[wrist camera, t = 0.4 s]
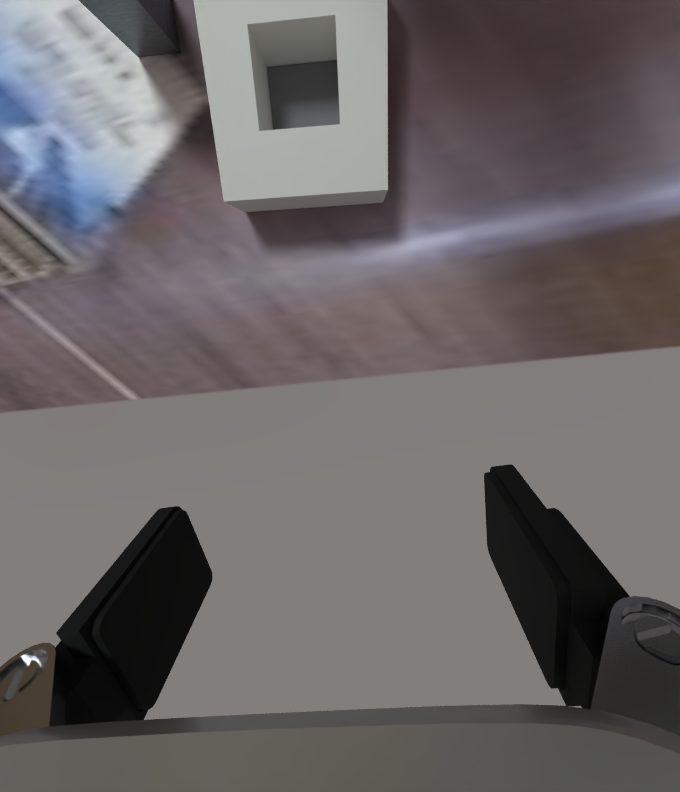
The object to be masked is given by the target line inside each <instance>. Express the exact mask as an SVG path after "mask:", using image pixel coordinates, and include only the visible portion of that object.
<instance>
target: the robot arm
mask: <svg viewBox="0 0 680 792" xmlns="http://www.w3.org/2000/svg"><path fill="white" fill-rule="evenodd" d="M484 483H485V504H486V528H487V545H488V551H489V554H490V557H491V559H492V561H493V563H494V566H495V568H496V570H497V573H498V575H499V577H500V579H501V581H502V583H503V586H504V587H505V590H506V593H507V595H508V597H509V599H510V601H511V603H512V606H513V608H514V610H515V613H516V615H517V617H518V619H519V621H520V624H521V626H522V628H523V630H524V633H525V635H526V637H527V639H528V641H529V644H530V646H531V648H532V650H533V652H534V655H535V657H536V659H537V661H538V663H539V666H540V668H541V670H542V672H543V675H544V677H545V679H546V681H547V683H548V685H549V686H550V687H551V688H558V689H559V691H560V693H561V695H562V698H563V700H564V702H565V704H566V706H554V705H524V704H515V705H467V706H432V707H406V708H383V709H358V710H334V711H312V712H292V713H270V714H249V715H230V716H209V717H191V718H171V719H155V720H144V718H145V716H146V713H147V711H148V709H150V708H152V707H153V705H154V704H155V703H156V701H157V699H158V697H159V694H160V692H161V690H162V688H163V686H164V684H165V681H166V679H167V677H168V675H169V673H170V671H171V669H172V666H173V664H174V662H175V660H176V658H177V656H178V653H179V652H180V649H181V647H182V645H183V643H184V641H185V639H186V636H187V634H188V632H189V630H190V628H191V626H192V623H193V621H194V619H195V617H196V615H197V613H198V611H199V609H200V607H201V604H202V602H203V600H204V598H205V596H206V593H207V591H208V589H209V587H210V585H211V582H212V571H211V569H210V566H209V564H208V561H207V559H206V557H205V554H204V552H203V550H202V547H201V545H200V543H199V540H198V538H197V535H196V533H195V531H194V528H193V526H192V524H191V521H190V519H189V517H188V515H187V512H186V511H184V510H182V509H181V508H180V507H168V508H161V509H159V510H158V511H156V513H155V514H154V515H153V516H152V517H151V519H150V520H149V521H148V522H147V524H146V525H145V526H144V527H143V528H142V530H141V531H140V532H139V533H138V535H137V536H136V537H135V538H134V539H133V541H132V542H131V543H130V544H129V545H128V547H127V548H126V549H125V550H124V552H123V553H122V554H121V555H120V556H119V558H118V559H117V560H116V561H115V562H114V564H113V565H112V566H111V567H110V568H109V570H108V571H107V572H106V573H105V575H104V576H103V577H102V578H101V579H100V580H99V582H98V583H97V584H96V585H95V587H94V588H93V589H92V590H91V592H90V593H89V594H88V595H87V596H86V597H85V599H84V600H83V601H82V602H81V603H80V605H79V606H78V607H77V608H76V610H75V611H74V612H73V613H72V614H71V616H70V617H69V618H68V619H67V621H66V622H65V623H64V624H63V625H62V627H61V628H60V629H59V630H58V632H57V635H58V636H59V638H60V639H61V642H60V643H59V644H58V645H57V646H56V648H55V646H53V645H52V644H51V643H41V644H37V645H34V646H31V647H29V648H28V649H25V650H23V651H21V652H20V653H18V654H17V655H15V656H14V657H12V658H11V659H9V660H8V661H7V662H6V663H5V664H4V665H2V666H1V667H0V792H680V609H678V608H676V607H674V606H671V605H669V604H667V603H665V602H662V601H659V600H656V599H652V598H648V597H639V596H632V597H630V596H629V595H628V594H627V592H626V591H625V590H624V589H623V588H622V586H621V585H620V584H619V583H618V582H617V580H616V579H615V578H614V577H613V575H612V574H611V573H610V572H609V570H608V569H607V568H606V567H605V566H604V564H603V563H602V562H601V561H600V559H599V558H598V557H597V556H596V555H595V553H594V552H593V551H592V550H591V548H589V546H588V545H587V544H586V542H585V541H584V540H583V539H582V538H581V536H580V535H579V534H578V533H577V531H576V530H575V529H574V528H573V527H572V525H571V524H570V523H569V522H568V520H567V519H566V518H565V517H564V516H563V514H562V513H561V512H560V511H559V510H557V509H555V508H551V509H546V507H545V506H544V505H543V504H542V502H541V501H540V499H539V498H538V497H537V496H536V494H535V493H534V492H533V490H532V489H531V488H530V486H529V485H528V484H527V483H526V482H525V480H524V479H523V477H522V476H521V475H520V473H519V472H518V471H517V470H516V468H515V467H514V466H513V465H503V466H495V467H491V469H490V472H488V473H485V474H484ZM568 706H581V707H582V708H575V707H568Z"/></svg>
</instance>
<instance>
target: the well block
mask: <svg viewBox="0 0 680 792" xmlns="http://www.w3.org/2000/svg"><path fill="white" fill-rule="evenodd" d="M194 7H195V13H196V20H197V27H198V33H199V40H200V46H201V53H202V60H203V66H204V73H205V80H206V86H207V93H208V99H209V106H210V113H211V119H212V126H213V132H214V139H215V146H216V152H217V159H218V165H219V172H220V179H221V185H222V192H223V198H224V202H226V203H228V204H230V205H232V206H234V207H236V208H238V209H240V210H242V211H244V212H256V211H271V210H285V209H300V208H314V207H329V206H343V205H358V204H373V203H383V202H384V199H385V196H386V194H387V191H388V23H387V0H194Z"/></svg>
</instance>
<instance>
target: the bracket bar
mask: <svg viewBox="0 0 680 792" xmlns="http://www.w3.org/2000/svg"><path fill="white" fill-rule="evenodd" d="M79 1H80V2H81V3H82V4H83V5H84V6H85V7H86V8H87V9H88V10H90V11H91V12H92V13H93V14H94V15H95V16H96V17H97V18H98V19H99V20H100V21H101V22H102V23H103V24H104V25H105V26H106V27H107V28H108V29H109V30H110V31H111V32H113V33H114V34H115V35H116V36H117V37H118V38H119V39H120V40H121V41H122V42H123V43H124V44H125V45H126V46H127V47H128V48H129V49H130V50H131V51H132V52H133V53H135V54H136V55H137V56H138V57H144V56H154V55H163V54H173V53H181V51H180V45H179V39H178V33H177V27H176V21H175V15H174V9H173V3H172V0H79Z"/></svg>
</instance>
